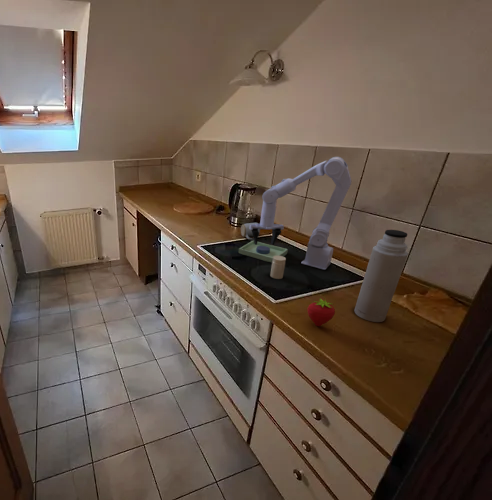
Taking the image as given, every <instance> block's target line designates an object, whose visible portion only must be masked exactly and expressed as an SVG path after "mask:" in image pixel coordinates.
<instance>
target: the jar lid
mask: <svg viewBox="0 0 492 500" xmlns="http://www.w3.org/2000/svg"><path fill="white" fill-rule="evenodd" d="M256 252H257V253H259V254H269V253H270V248H269V247H266V246H258V247H257V248H256Z"/></svg>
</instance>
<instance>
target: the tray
mask: <svg viewBox="0 0 492 500" xmlns="http://www.w3.org/2000/svg"><path fill="white" fill-rule="evenodd" d="M258 246H266V247H269V248H270V253H269V254H259V253H257V252H256V248H257V247H258ZM288 251H289V249H288V248H286V247H285V248H284V247H280V246H276V245H272V244H269V243H265V242H261V241H257V245H255V244H254V241H251V240H250V242H247V243H246V244H244V245H243V246H240V247H239V248H238V254H240V255H243V256H247V257H250V258H254V259H258V260H260V261H264V262H268V263H271V264H272V260H273V256H283V257H285V256H286V255H287V254H288Z"/></svg>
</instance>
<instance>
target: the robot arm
mask: <svg viewBox="0 0 492 500" xmlns="http://www.w3.org/2000/svg"><path fill="white" fill-rule="evenodd" d="M325 175H326V176H327V177H329V178H330V179H332V181H333V183H334V184H335V187H334V189H333V192H332V193H331V195H330V197H329V200H328V202H327V204H326V207H325V209H324V211H323V214H322V216H321V218H320V220H319V222H318V224H317V226H316V227H315V228H313V230H312V232H311V235H310V236H309V241H308V242H307V248H306V253H305V256H304V259H303V260H302V261H301V263H300V264H302V265H306V266H309V267H313V268H317V269H320V270H324V271H325V270H327V269H328V268H329V266H330V265H331V264H332V263H331V262H332V258H333V254H334V247H332V246H329V243H328V239H329V236H330V230H331V228H332V225H333V223H334V222H335V219H336V217H337V215H338V212H339V211H340V208H341V206H342V204H343V202H344V200H345V198H346V195H347V193H348V192H349V189H350V187H351V185H352V177H351V173H350V170H349V166H348V163H347V162H346V161H345V160H344V158H342V157H340V156H333V157H330V158H329V159H328V160H324V161H322V162H319V163H317V164H316V165H313V166H312V167H310V168H309V169H307V170H305V171H304V172H302V173H300V174H299V175H297V176H295V177H293V178H290V177H289V178H283V179H282V180H281V181H280V182H279V183H277V184H275V185H272V186H271V187H270V188H268V189H266V191H264V192H263V193H262V196H261V199H262V205H261V213H260V220H259V221H260V222H259V223H258V224H253V225H250V227H249V229H250V230H251V231H252V233H253V237H252V238H253V239H254V244H255V245H257V242H259V241H258V239H259V236H260V233H259V232H258V229H260V230H271V239H270V245H273V246H275V243H276V241H277V239H278V238H279V236H280V235H281V234H282V231H284V229H285V227H284V226H285V225H283V224H281V223H280V224H279V223H274V222H275V220H276V219H275V217H276V210H277V201H278V199H280V198H281V199H282V198H283V197H285V196H287V195H289V194H290V193H293V192H294V191H295V190H296V189H297V186H298V185H300V184H302V183H304V182H306V181H308V180H310V179H312V178H314V177H318V176H319V177H323V176H325ZM258 235H259V236H258Z"/></svg>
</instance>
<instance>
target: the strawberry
mask: <svg viewBox="0 0 492 500" xmlns="http://www.w3.org/2000/svg"><path fill="white" fill-rule="evenodd" d="M323 298H324V300H323V299H322V298H319V300H318V301H313V302H311V303H310V304H309V305H308V307H307V309H306V311H307V316H308V317H309V319H310V320H311V321H312V322H313V323H314V325H315V326H316V327H321V326H323V325H325V324H326V323H328V322H329V321H331V320H332V319H333V317H334V316H335V314H336V310H335V308H334V307H333V304H332V302H327V300H326V297H323Z"/></svg>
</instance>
